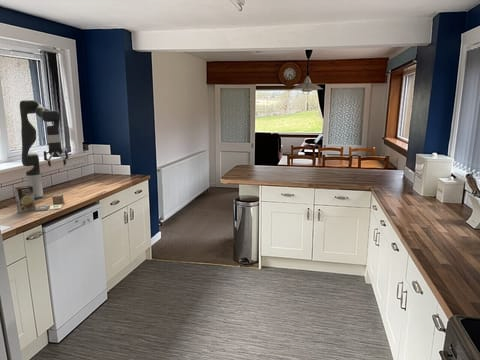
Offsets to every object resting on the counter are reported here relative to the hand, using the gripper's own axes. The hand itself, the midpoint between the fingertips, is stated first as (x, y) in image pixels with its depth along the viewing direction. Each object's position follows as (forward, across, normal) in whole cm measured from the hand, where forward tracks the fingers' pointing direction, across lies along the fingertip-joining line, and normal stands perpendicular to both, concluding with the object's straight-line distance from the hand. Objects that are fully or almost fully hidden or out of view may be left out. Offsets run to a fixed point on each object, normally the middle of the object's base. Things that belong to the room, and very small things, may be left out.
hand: (57, 166), depth 236 cm
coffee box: (+29, +22, 0) cm, 36 cm away
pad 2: (+28, +4, 0) cm, 29 cm away
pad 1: (+28, +12, 0) cm, 31 cm away
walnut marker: (+28, +4, -12) cm, 31 cm away
